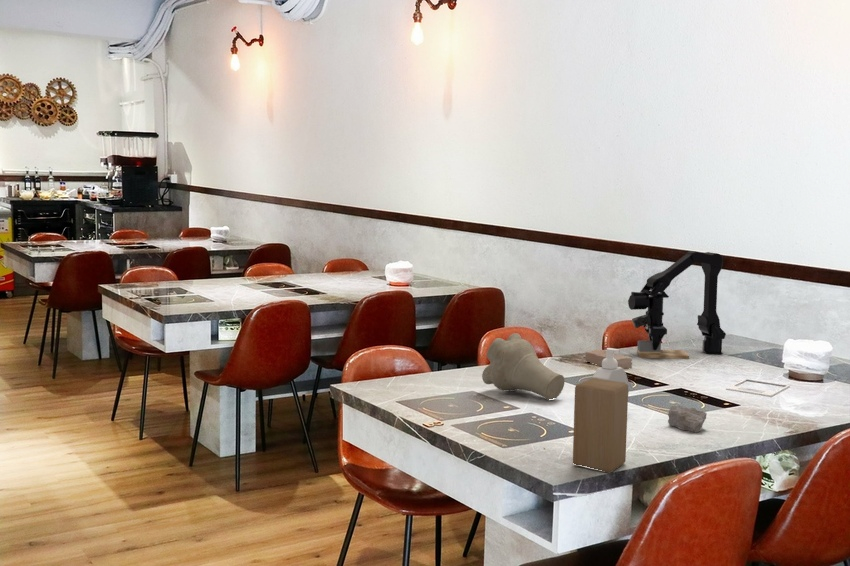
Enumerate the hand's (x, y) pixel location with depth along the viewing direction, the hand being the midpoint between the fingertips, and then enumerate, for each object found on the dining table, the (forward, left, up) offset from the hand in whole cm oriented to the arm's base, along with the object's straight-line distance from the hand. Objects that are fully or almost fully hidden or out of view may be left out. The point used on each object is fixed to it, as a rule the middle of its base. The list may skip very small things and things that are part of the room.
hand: (653, 348), depth 345 cm
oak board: (-4, 0, -3) cm, 4 cm away
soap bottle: (+29, +93, -3) cm, 97 cm away
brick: (+20, +20, -3) cm, 29 cm away
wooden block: (+37, +137, -3) cm, 142 cm away
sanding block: (+2, 0, -1) cm, 2 cm away
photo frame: (-25, +52, -3) cm, 58 cm away
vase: (+52, +71, -3) cm, 88 cm away
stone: (+9, +102, -3) cm, 103 cm away
